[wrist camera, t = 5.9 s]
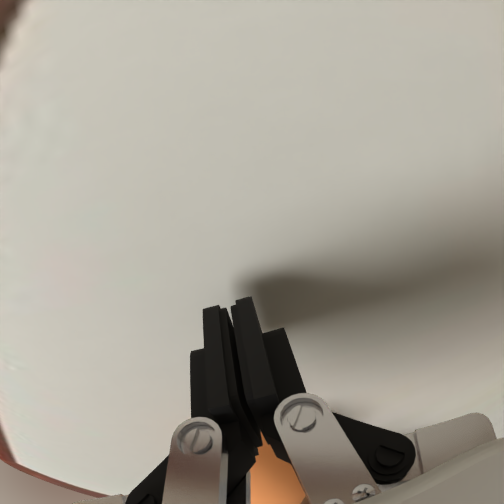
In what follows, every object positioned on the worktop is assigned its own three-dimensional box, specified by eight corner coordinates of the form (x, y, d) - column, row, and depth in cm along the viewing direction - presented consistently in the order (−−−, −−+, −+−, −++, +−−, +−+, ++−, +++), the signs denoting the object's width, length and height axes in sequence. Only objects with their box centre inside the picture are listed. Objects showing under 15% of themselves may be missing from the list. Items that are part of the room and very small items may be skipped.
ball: (298, 463, 18) (288, 402, 17) (326, 521, 12) (322, 464, 11) (216, 482, 17) (192, 424, 16) (225, 545, 11) (195, 494, 11)
